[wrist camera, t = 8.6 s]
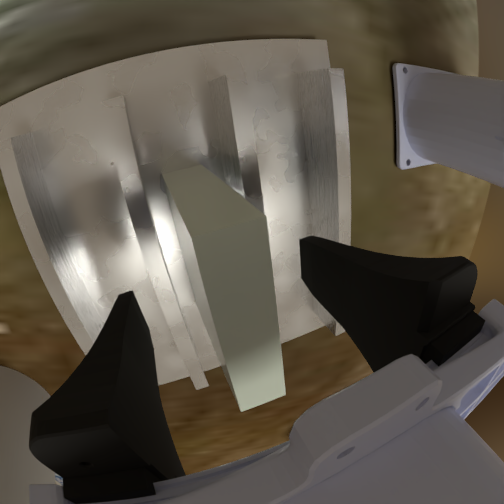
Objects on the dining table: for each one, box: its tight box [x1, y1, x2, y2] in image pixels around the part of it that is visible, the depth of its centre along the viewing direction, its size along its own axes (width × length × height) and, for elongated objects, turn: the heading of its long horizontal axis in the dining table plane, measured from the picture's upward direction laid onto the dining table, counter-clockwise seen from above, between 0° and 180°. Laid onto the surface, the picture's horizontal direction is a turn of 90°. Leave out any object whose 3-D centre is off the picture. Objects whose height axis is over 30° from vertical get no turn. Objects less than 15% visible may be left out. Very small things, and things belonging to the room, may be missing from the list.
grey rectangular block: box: [162, 165, 286, 412], centre depth 13 cm, size 2×8×8 cm, turn 8°
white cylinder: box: [0, 366, 55, 504], centre depth 12 cm, size 8×8×12 cm
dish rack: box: [0, 39, 351, 390], centre depth 15 cm, size 18×20×4 cm
